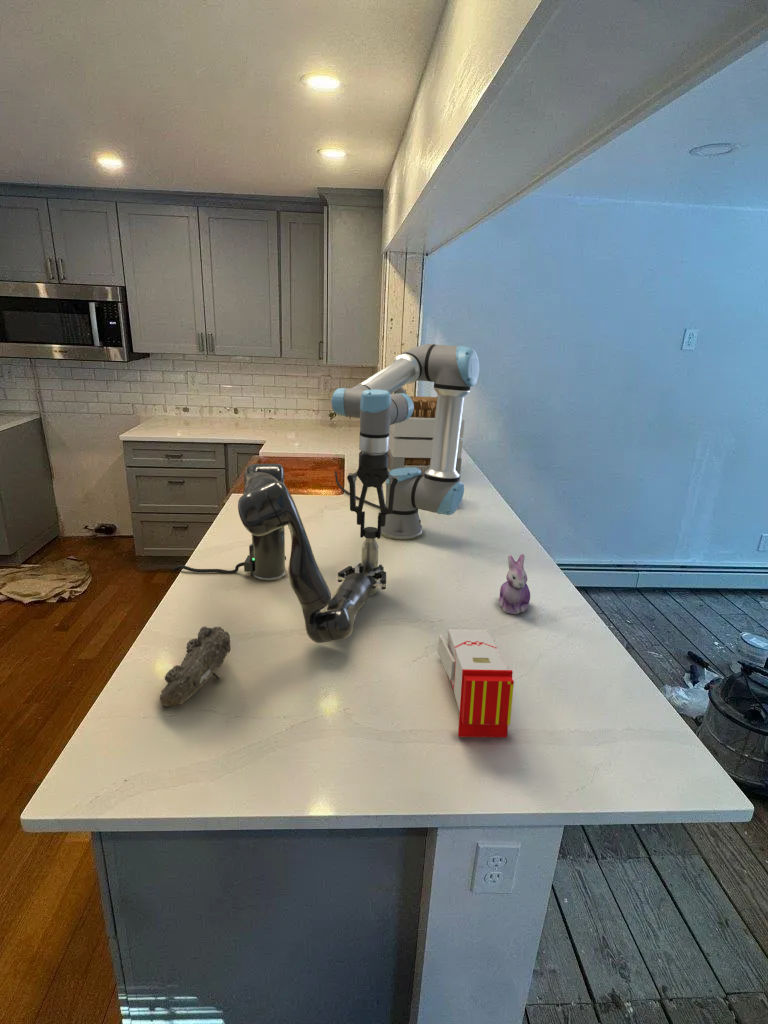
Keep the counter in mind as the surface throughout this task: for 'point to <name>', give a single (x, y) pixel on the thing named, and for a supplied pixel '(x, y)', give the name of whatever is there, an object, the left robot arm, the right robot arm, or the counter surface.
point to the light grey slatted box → (416, 436)
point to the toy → (478, 682)
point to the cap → (370, 532)
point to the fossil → (196, 665)
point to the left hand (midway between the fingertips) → (371, 566)
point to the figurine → (515, 588)
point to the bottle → (369, 558)
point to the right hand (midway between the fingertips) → (370, 536)
